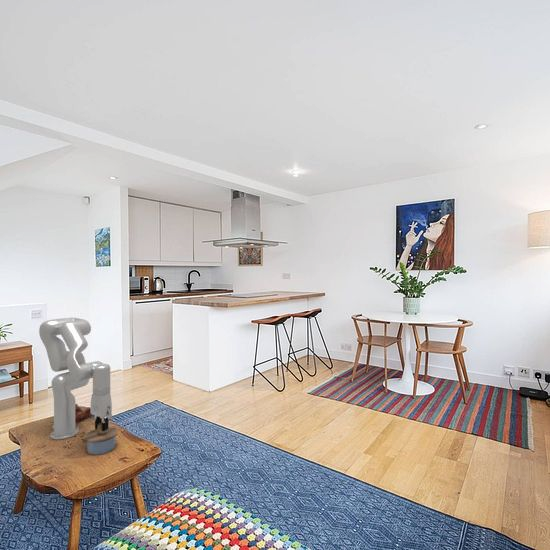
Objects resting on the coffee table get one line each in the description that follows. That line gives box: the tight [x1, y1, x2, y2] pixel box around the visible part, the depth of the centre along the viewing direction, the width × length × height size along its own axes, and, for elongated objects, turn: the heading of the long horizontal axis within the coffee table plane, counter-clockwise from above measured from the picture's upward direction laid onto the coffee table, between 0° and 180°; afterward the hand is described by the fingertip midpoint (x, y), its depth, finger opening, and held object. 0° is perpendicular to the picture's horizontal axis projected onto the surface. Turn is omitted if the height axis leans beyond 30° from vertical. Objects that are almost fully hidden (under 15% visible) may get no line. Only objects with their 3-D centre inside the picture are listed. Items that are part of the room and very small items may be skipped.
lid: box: [84, 422, 119, 443], centre depth 166 cm, size 14×14×6 cm
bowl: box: [86, 435, 117, 456], centre depth 166 cm, size 12×12×6 cm
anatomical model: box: [75, 403, 91, 423], centre depth 199 cm, size 11×13×15 cm
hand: (101, 428), depth 166 cm, fingers open, 4 cm apart
